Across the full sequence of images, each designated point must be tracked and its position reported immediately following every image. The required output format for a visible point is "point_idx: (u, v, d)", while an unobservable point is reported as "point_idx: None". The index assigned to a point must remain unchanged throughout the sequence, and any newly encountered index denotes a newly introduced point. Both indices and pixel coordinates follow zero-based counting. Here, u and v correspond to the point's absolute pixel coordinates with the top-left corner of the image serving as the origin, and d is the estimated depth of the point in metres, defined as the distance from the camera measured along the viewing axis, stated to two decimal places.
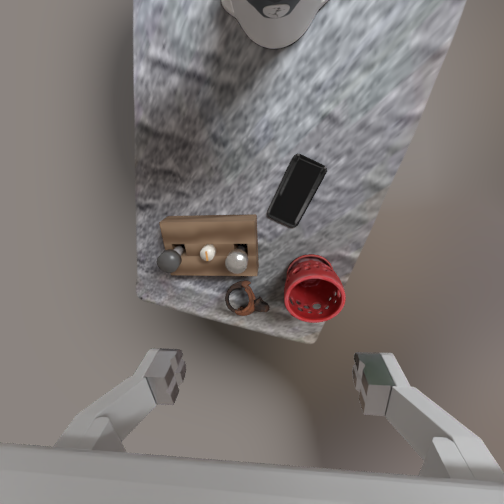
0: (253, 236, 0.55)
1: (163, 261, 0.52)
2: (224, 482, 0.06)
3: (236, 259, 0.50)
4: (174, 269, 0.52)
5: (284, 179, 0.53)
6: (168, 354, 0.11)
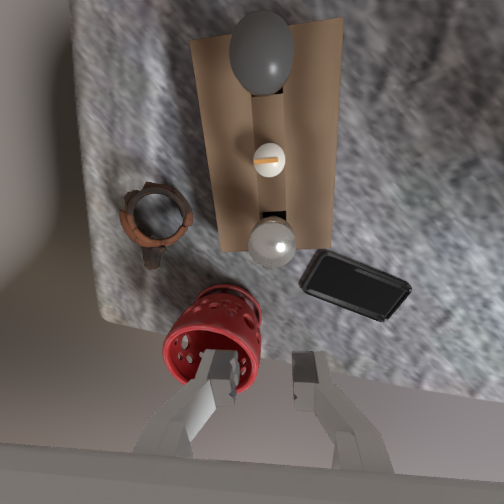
0: (301, 246, 0.30)
1: (267, 38, 0.17)
2: (224, 482, 0.06)
3: (282, 247, 0.23)
4: (243, 78, 0.18)
5: (378, 274, 0.36)
6: (226, 355, 0.11)
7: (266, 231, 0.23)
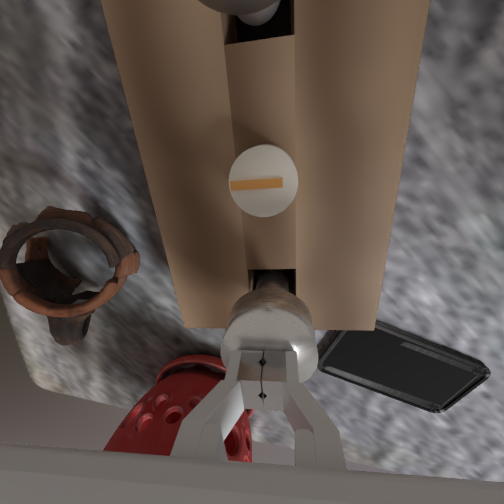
0: (321, 325, 0.17)
1: None
2: (224, 482, 0.06)
3: None
4: None
5: (438, 351, 0.23)
6: (254, 356, 0.11)
7: (256, 331, 0.11)
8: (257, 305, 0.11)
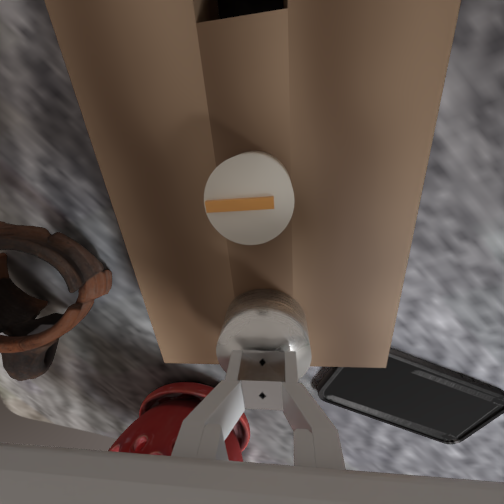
0: (323, 361, 0.15)
1: None
2: (224, 482, 0.06)
3: None
4: None
5: (454, 380, 0.20)
6: (255, 356, 0.11)
7: (251, 330, 0.11)
8: (252, 305, 0.12)
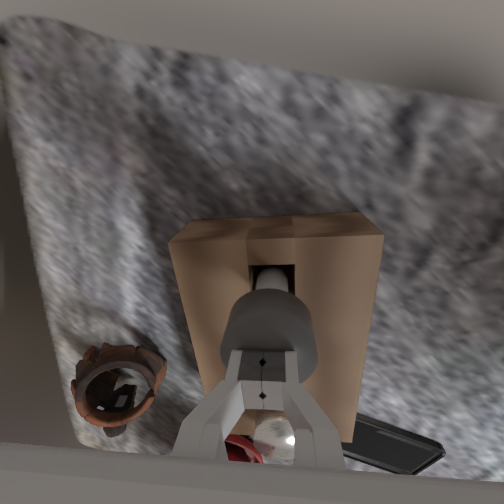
0: None
1: (278, 346, 0.11)
2: (224, 482, 0.06)
3: (291, 447, 0.21)
4: None
5: (405, 437, 0.29)
6: (254, 356, 0.11)
7: (273, 434, 0.20)
8: (273, 417, 0.21)
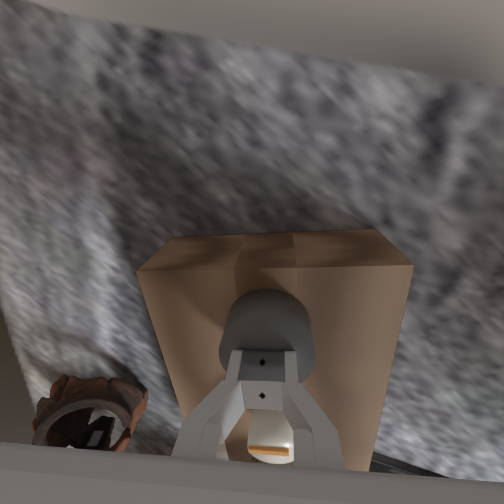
0: None
1: (276, 347, 0.11)
2: (224, 482, 0.06)
3: None
4: None
5: None
6: (255, 356, 0.11)
7: None
8: None
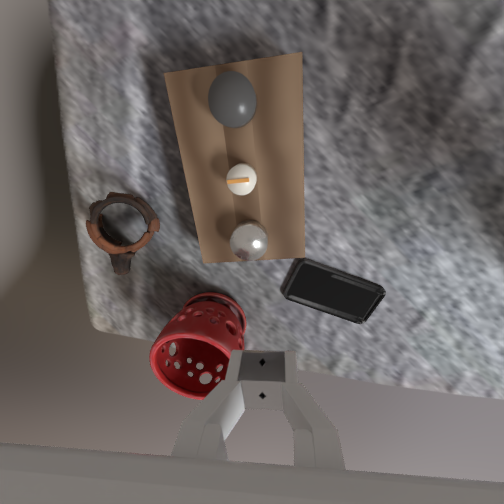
0: (277, 256, 0.32)
1: (235, 90, 0.23)
2: (224, 482, 0.06)
3: (257, 244, 0.29)
4: (219, 118, 0.24)
5: (353, 279, 0.38)
6: (255, 356, 0.11)
7: (243, 231, 0.29)
8: (243, 223, 0.29)
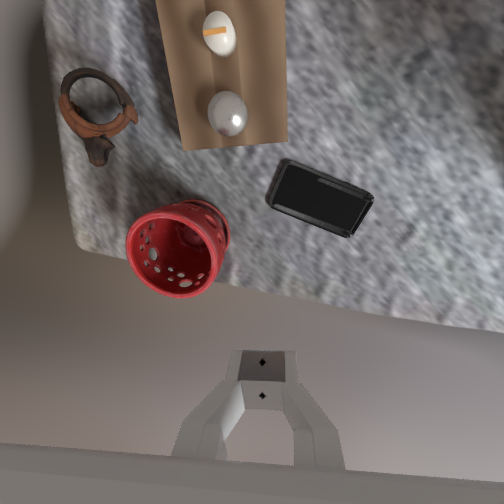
0: (259, 140, 0.31)
1: None
2: (224, 482, 0.06)
3: (236, 114, 0.28)
4: None
5: (340, 183, 0.37)
6: (255, 356, 0.11)
7: (221, 98, 0.28)
8: None
